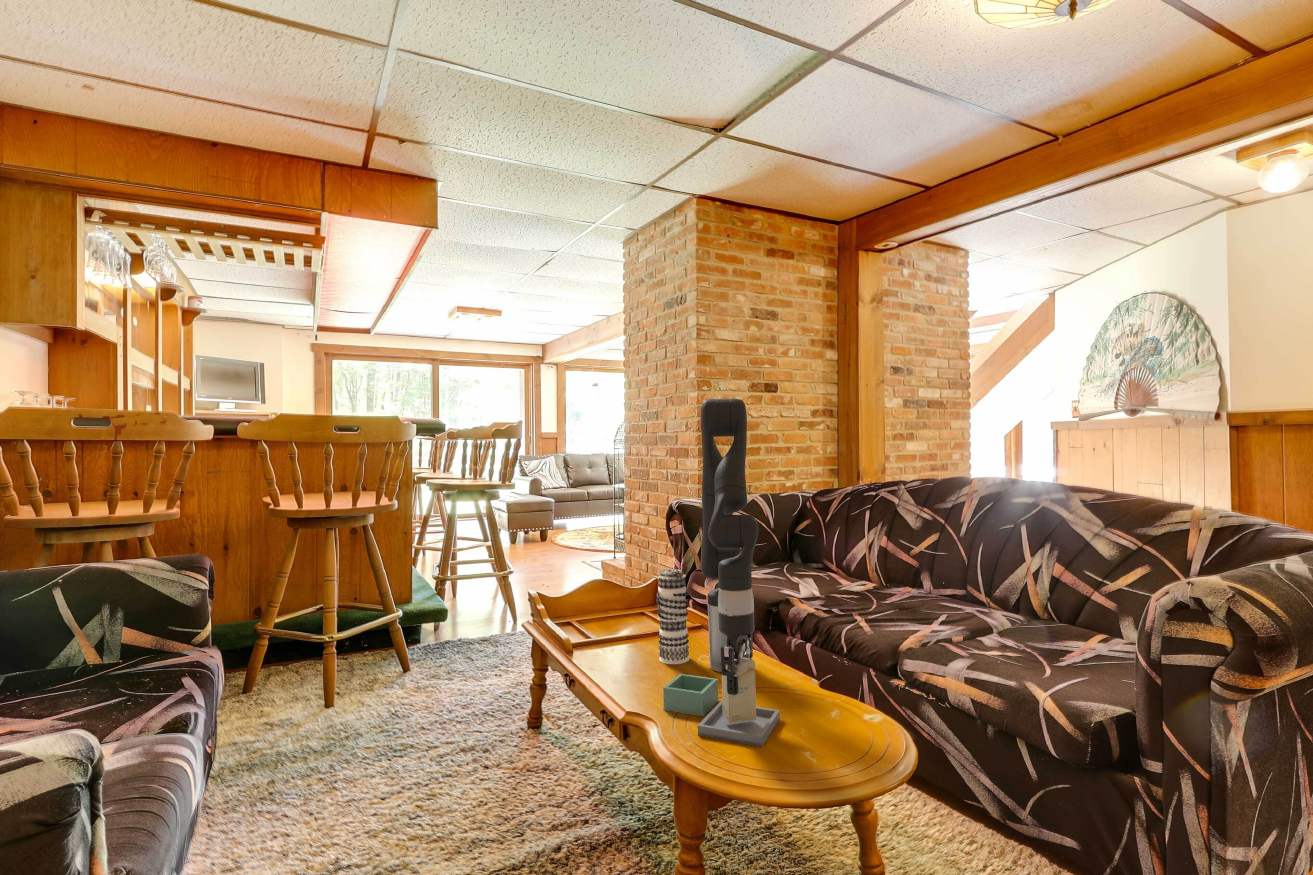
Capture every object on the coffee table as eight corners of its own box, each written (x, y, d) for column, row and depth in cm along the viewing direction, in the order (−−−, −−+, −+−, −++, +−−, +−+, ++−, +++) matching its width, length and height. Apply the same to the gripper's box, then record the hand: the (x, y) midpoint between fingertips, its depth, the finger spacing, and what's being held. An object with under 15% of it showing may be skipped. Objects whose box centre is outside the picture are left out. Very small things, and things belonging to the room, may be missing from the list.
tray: (720, 710, 142) (720, 701, 142) (780, 719, 136) (779, 710, 136) (697, 735, 129) (697, 725, 129) (762, 746, 123) (761, 736, 123)
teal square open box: (680, 694, 151) (680, 673, 151) (718, 700, 147) (717, 678, 147) (663, 709, 143) (663, 687, 143) (703, 716, 139) (702, 693, 139)
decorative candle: (691, 653, 182) (688, 567, 182) (689, 664, 172) (686, 573, 173) (659, 653, 183) (657, 567, 183) (656, 664, 173) (654, 573, 174)
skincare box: (729, 724, 130) (727, 664, 130) (721, 715, 134) (720, 658, 134) (757, 719, 131) (755, 661, 132) (749, 711, 136) (747, 654, 136)
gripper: (730, 599, 141) (732, 673, 141) (707, 615, 128) (709, 697, 128) (762, 602, 138) (765, 678, 138) (742, 619, 125) (745, 702, 125)
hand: (738, 687), depth 133 cm, fingers closed on skincare box, 7 cm apart
